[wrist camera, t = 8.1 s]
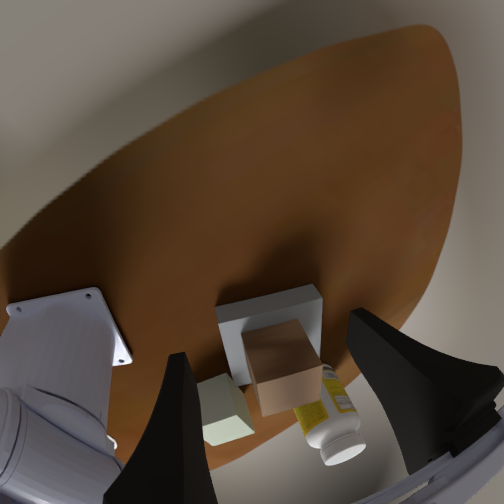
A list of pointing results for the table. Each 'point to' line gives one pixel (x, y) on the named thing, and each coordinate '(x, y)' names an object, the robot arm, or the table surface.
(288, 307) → the slate slab
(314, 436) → the supplement bottle
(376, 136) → the table surface
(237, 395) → the sage block
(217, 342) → the table surface
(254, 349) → the walnut block
